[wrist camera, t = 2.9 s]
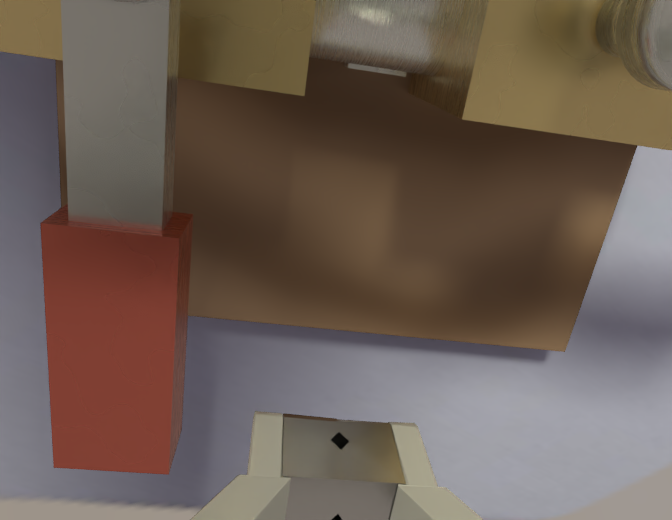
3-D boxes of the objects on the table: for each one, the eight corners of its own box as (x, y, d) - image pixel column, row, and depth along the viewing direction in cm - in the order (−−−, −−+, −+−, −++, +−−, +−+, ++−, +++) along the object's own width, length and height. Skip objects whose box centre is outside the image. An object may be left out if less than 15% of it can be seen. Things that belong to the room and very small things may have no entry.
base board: (61, -307, 16) (39, -338, 15) (716, -159, 19) (749, -175, 18) (78, 288, 24) (64, 303, 22) (550, 335, 26) (564, 351, 25)
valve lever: (53, -186, 9) (9, -228, 8) (218, -153, 10) (204, -187, 8) (74, 422, 14) (49, 467, 13) (185, 429, 14) (172, 474, 13)
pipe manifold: (46, -157, 17) (-300, -429, 7) (834, -5, 20) (1346, -44, 10) (54, 39, 19) (-204, 42, 9) (767, 147, 22) (1141, 234, 12)
